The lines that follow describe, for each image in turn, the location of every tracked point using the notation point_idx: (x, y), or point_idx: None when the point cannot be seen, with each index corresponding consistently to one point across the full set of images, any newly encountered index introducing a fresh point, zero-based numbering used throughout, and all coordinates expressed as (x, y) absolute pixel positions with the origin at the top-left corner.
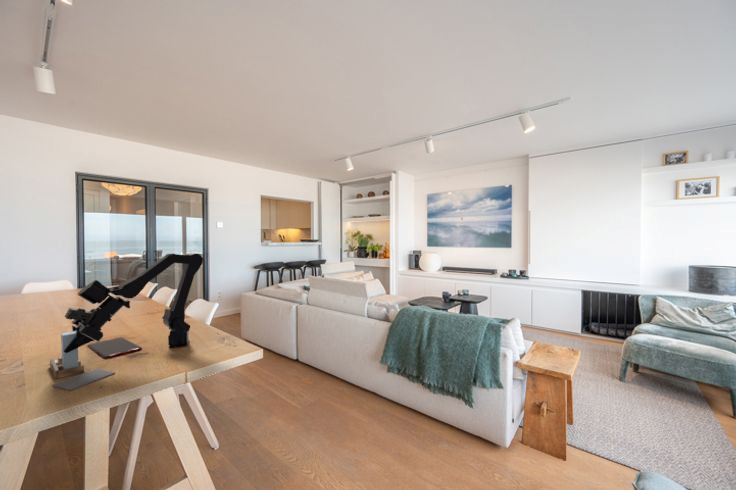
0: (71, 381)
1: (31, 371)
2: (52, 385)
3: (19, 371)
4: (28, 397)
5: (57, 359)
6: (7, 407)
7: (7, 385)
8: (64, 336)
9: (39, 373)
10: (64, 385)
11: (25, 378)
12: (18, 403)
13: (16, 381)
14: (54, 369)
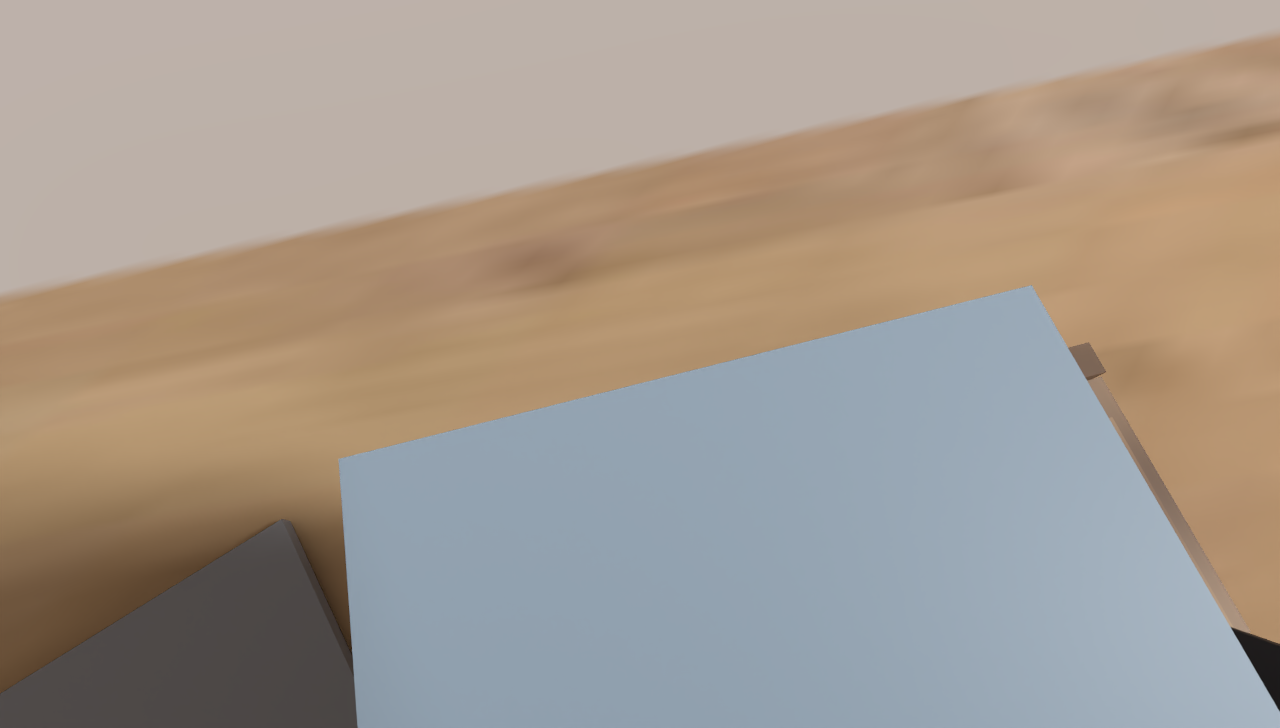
0: (213, 714)
1: (949, 249)
2: (282, 523)
3: (1005, 162)
4: (134, 385)
5: (1114, 417)
6: (32, 294)
7: (628, 172)
8: (369, 542)
9: (834, 327)
10: (131, 654)
11: (742, 250)
12: (49, 346)
13: (697, 206)
14: None
